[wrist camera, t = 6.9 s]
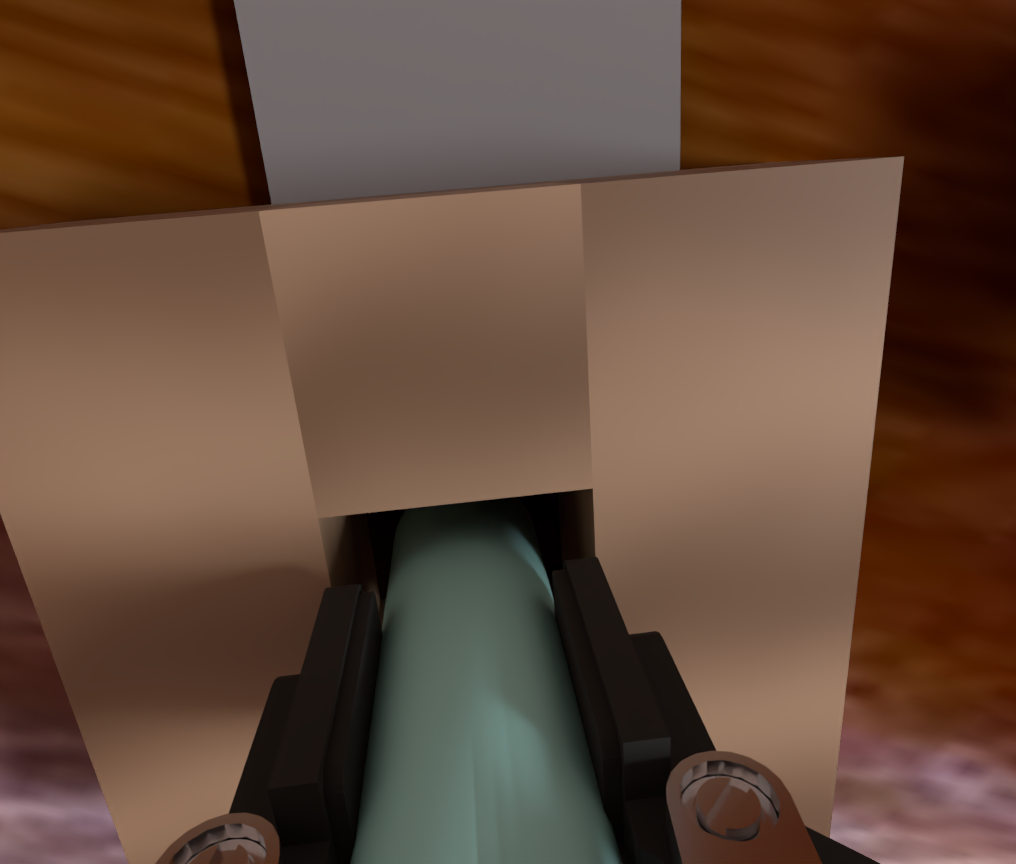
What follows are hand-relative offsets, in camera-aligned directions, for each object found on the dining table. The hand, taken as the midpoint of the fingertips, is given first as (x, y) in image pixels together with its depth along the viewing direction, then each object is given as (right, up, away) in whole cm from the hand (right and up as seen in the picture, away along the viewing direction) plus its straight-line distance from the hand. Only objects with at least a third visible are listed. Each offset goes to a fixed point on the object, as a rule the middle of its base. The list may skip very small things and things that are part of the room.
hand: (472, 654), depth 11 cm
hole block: (0, +2, +5) cm, 5 cm away
